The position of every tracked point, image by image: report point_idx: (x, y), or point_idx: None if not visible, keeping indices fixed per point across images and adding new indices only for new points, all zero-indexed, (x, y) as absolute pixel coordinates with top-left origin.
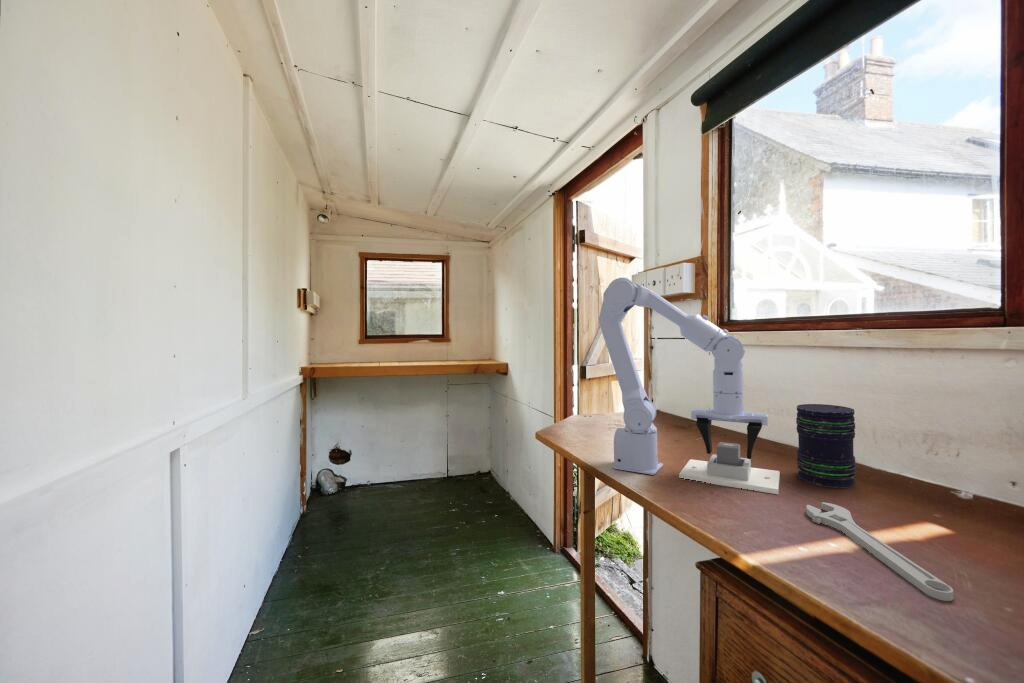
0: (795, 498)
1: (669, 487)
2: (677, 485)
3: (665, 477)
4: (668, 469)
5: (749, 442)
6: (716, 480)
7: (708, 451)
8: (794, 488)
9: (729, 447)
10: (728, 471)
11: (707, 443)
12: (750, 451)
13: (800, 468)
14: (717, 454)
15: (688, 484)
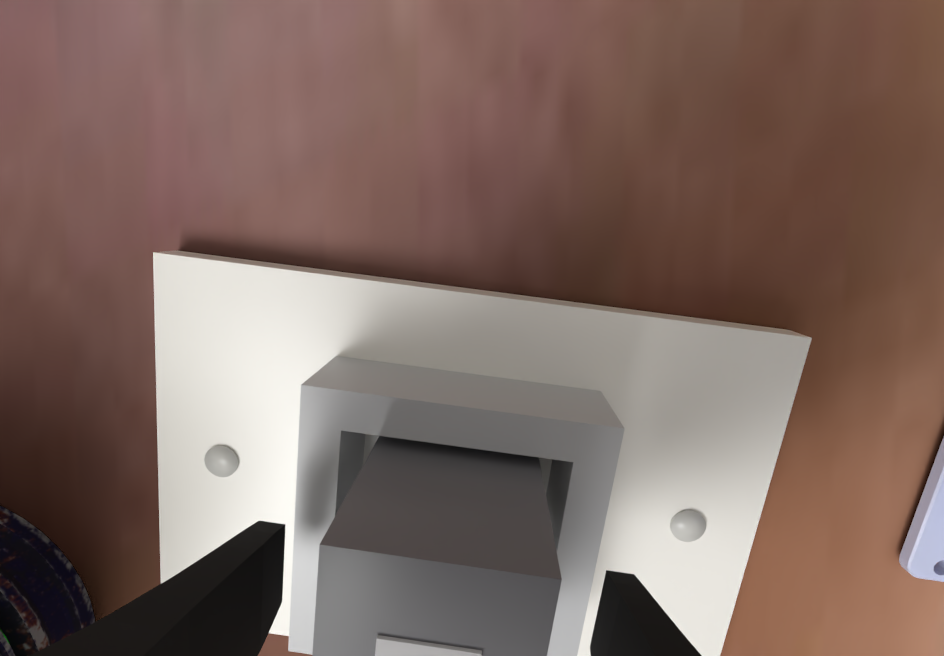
0: (87, 220)
1: (873, 104)
2: (808, 175)
3: (888, 322)
4: (854, 503)
5: (136, 635)
6: (539, 303)
7: (630, 585)
8: (100, 402)
9: (414, 573)
10: (454, 388)
11: (672, 650)
12: (208, 557)
13: (22, 639)
14: (543, 516)
15: (726, 229)
